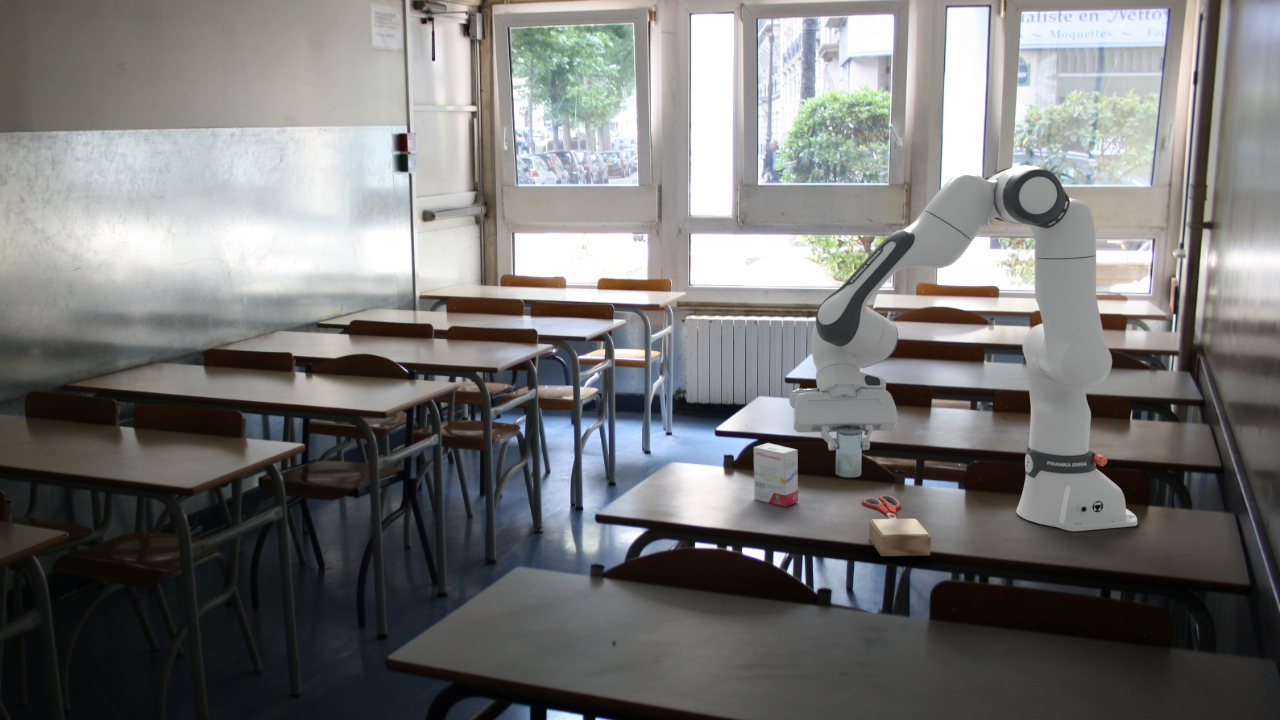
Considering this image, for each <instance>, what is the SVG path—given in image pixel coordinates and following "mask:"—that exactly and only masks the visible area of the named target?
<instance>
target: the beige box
mask: <svg viewBox="0 0 1280 720" xmlns="http://www.w3.org/2000/svg"><path fill="white" fill-rule="evenodd" d="M869 538H870V539H869ZM868 539H869V541H870V540H871V541H872V542H873V543H874V545H875V546H874V545H873V546H874V548H875V549H876V551H877V552H878V554H879V555H880V556H881V557H901V556H902V557H906V556H910V557H911V556H915V557H917V556H931V542H932V541H931V540H932V537H931V535H930V534H929V533H928V532H927V530H926V529H925V528H924V526H923V525H922V524H921V523H920V522H919V520H917V519H916V518H897V519H889V518H873V519H871V520H869V535H868ZM871 541H870V542H871ZM872 542H871V543H872Z"/></svg>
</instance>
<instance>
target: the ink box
mask: <svg viewBox="0 0 1280 720" xmlns="http://www.w3.org/2000/svg"><path fill="white" fill-rule="evenodd" d="M798 451H799V450H798V449H795V448H792V447H787V446H782V445H779V444H774V443H770V442H767V443H766V442H765V443H764V444H760V445H759V444H758V445H757V446H753V483H754V484H753V487H754V488H753V491H754V492H753V493H754V494H753V495H754V496H753V497H754V500H756V501H760V502H763V503H764V502H765V503H767V504H773V505H777V506H780V507H784V508H787V507H788V506H792V505H794V504H795V503H797V502H799V486H798V485H799V477H798V476H799V475H798V474H799V473H798V471H799V469H798V468H799V467H798V458H799V457H798V455H799V454H798V453H799V452H798Z"/></svg>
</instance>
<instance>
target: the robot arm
mask: <svg viewBox="0 0 1280 720" xmlns="http://www.w3.org/2000/svg"><path fill="white" fill-rule="evenodd" d="M993 219H995V220H998V221H1001V222H1006V223H1009V224H1013V225H1027V226H1029V227H1030V229H1031V231H1032V234H1033V238H1034V298H1035V301H1036V303H1037V307H1038V309H1039V312H1040V317H1041V323H1039V324H1037V325H1034V326H1033V327H1032V328H1030V329H1029V330H1028V331H1027V332H1026V334H1025V336H1024V338H1023V341H1022V353H1023V355H1024V359H1025V362H1026V363H1025V364H1026V365H1025V366H1026V374H1027V383H1028V389H1029V390H1028V391H1029V399H1030V421H1029V422H1030V426H1029V441H1028V442H1029V443H1028V445H1027V446H1026V452H1025V458H1024V467H1025V479H1024V484H1023V490H1022V493H1021V497H1020V500H1019V503H1018V505H1017V508H1016V514H1017V515H1018V516H1019V517H1021V518H1022V519H1025V520H1027V521H1030V522H1032V523H1035V524H1040V525H1045V526H1049V527H1055V528H1059V529H1062V530H1065V531H1069V532H1082V531H1093V530H1105V529H1116V528H1127V527H1136V526H1137V525H1138V518H1137V516H1136V514H1134V513H1133V512H1132V511H1130V509H1127V508H1126V499H1125V495H1124V493H1123V490H1122V489H1121V488H1120V487H1119V486H1118V485H1117V484H1116V483H1115V482H1113V480H1111V479H1110V478H1109V477H1107V475H1105V474H1104V473H1103V472H1102V471H1100V470H1098V469H1097V466H1096V465H1098V466H1099V467H1104V466H1106V465H1107V463H1108V459H1107V457H1106V456H1104V455H1102V454H1100V453H1096V452H1093V451H1092V450H1091V449H1089V446H1090V433H1091V429H1090V428H1091V421H1092V420H1091V419H1092V412H1091V409H1090V406H1089V404H1088V399H1087V394H1086V390H1085V388H1086V389H1088V388H1092V387H1096V386H1098V385H1099V384H1102V383H1103V382H1104V380H1105V379H1107V377H1108V376H1109V374H1110V372H1111V369H1112V365H1113V357H1112V353H1111V351H1110V349H1109V348H1108V346H1107V345H1108V344H1107V342H1106V339H1105V336H1104V335H1105V334H1104V330H1103V325H1102V320H1101V314H1100V309H1099V305H1098V303H1099V302H1098V297H1097V242H1096V241H1097V240H1096V231H1095V224H1094V218H1093V213H1092V209H1091V207H1089V205H1088V204H1087V203H1085V202H1084V201H1082V200H1080V199H1077V198H1072V197H1069V195H1068V194H1067V192H1066V191H1065V189H1064V187H1063V186H1062V183H1061V181H1060V180H1059V178H1058V177H1057V175H1056V174H1054V173H1053V171H1051V170H1049V169H1046V168H1045V167H1042V166H1037V165H1024V164H1023V165H1022V164H1021V165H1016V166H1013V167H1008V168H1004V169H1001V170H999V171H997V172H994V173H993V174H991V175H988V176H987V177H985V178H984V177H982V176H981V175H979V174H976V173H974V172H966V171H963V172H960V173H957V174H955V175H953V176H952V177H951V178H950V179H949V180H948V181H947V182H946V183H945V184H944V185H943V186H942V188H940V189H939V191H938V192H937V193H936V194H935V195H934V196H933V197H932V199H931V200H930V201H929V203H928V204H927V205H926V206H925V208H924V209H923V211H922V212H921V213H920V214H919V216H918V217H917V218H915V220H914V221H913V222H912V223H911V224H909V225H908V226H906V227H905V228H903V229H899V230H896V231H894V232H892V233H891V234H890V235H888V236H887V237H886V238H885V239H884V240H883V241H882V242H881V243H880V244H879V245H878V246H877V247H876V249H874V251H872V253H870V255H869V256H868V257H867V258H866V259H865V260H864V262H862V263H861V264H860V266H859V267H858V268H857V269H855V271H854V272H853V273H852V275H850V277H849V278H848V279H847V280H846V281H845V282H844V283H843V284H842V285H841V286H840V287H839V288H838V289H837V290H836V291H834V292H833V293H832V294H830V295H829V296H828V297H827V298H825V299H824V300H823V301H822V303H821V304H820V306H819V307H818V309H817V311H816V315H815V324H814V326H813V329H812V333H811V354H812V360H813V365H814V366H815V368H816V373H815V381H816V382H815V383H816V386H817V387H815V388H813V387H812V388H797V389H795V390H793V391H791V393H790V394H789V396H788V399H789V406H791V407H792V409H793V411H792V425H793V429H794V430H795V431H796V432H797V433H800V434H801V433H820V437H821V438H822V439H823V440H824V441H825V442H826V444H827V446H828V447H827V448H828V451H836V450H837V448H838V443H837V439H836V438H833V436H832V435H831V434H830V433H833V432H834V433H835V432H836V428H837V427H839V426H847V425H848V426H858V427H861V428H862V429H863V435H864V436H865V437H862V450H863V451H867V450H870V448H871V442H870V438H871V436H872V433H873V432H889V431H893V430H894V429H895V428H896V426H897V424H898V421H899V415H898V410H897V406H896V404H895V400H894V399H893V395H892V394H891V393H890V392H889V391H888V390H887V388H886V387H887V383H886V379H885V378H883V377H881V376H875V375H873V374H872V375H871V374H868V373H865V372H862V371H860V370H861V369H866V368H869V367H872V366H874V365H877V364H879V363H882V362H883V361H885V360H887V359H888V358H890V356H892V355H893V353H894V351H895V350H896V348H897V346H898V340H899V332H898V328H897V325H896V324H895V323H894V322H893V321H891V320H890V319H888V318H887V317H885V316H884V315H882V314H880V313H879V312H877V311H875V310H873V309H872V308H870V307H869V306H867V305H868V302H869V301H870V300H871V299H872V298H873V296H874V295H876V293H877V292H878V291H879V290H880V289H881V288H882V287H883V286H884V285H885V284H886V282H887V281H888V280H889V279H890V278H891V277H892V276H893V275H894V274H895V273H897V272H898V271H900V270H903V269H907V268H908V269H909V268H921V269H927V270H930V269H931V270H935V269H937V270H938V269H942V268H946V267H949V266H952V265H953V264H954V263H955V262H957V260H959V259H960V258H961V257H962V255H964V253H965V252H966V250H967V249H968V248H969V246H970V245H971V243H972V241H974V239H975V238H976V236H977V235H978V233H979V232H980V230H981V229H982V228H983V227H984V226H985V225H986V224H987V223H988V222H990V221H991V220H993ZM836 433H837V432H836Z"/></svg>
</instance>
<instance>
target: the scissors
mask: <svg viewBox="0 0 1280 720" xmlns="http://www.w3.org/2000/svg"><path fill="white" fill-rule="evenodd" d="M889 502H891V503H893V504H895V505H893V504H890V503H889ZM861 505H862V506H864V507H866V508H870V509H873V510H877V511H878V512H880V513H882V514H883V515H884V516H887V519H898V518H897V511H899V510H901V509H902V504H901V502H900V500H898V498H896V497H895V496H892V495H887V494H884V495H879V496H878V498H873V497H871V498H870V497H869V498H868V497H867V498H864V499H862V500H861Z"/></svg>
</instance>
